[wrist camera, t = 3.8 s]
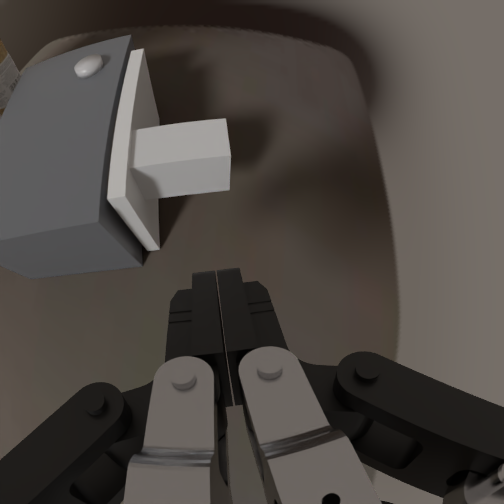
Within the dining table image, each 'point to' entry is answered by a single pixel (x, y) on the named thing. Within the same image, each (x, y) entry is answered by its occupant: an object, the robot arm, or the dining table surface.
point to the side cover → (160, 156)
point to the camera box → (64, 166)
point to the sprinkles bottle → (7, 77)
